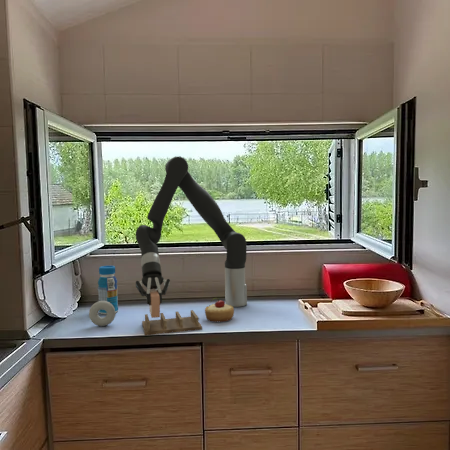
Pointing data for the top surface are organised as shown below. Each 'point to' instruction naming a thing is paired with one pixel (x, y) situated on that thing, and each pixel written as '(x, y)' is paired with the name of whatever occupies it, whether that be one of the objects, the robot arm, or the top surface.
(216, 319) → the pastry
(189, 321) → the dish stand
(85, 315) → the top surface
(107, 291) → the beverage bottle
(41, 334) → the top surface
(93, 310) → the donut
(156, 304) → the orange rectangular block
